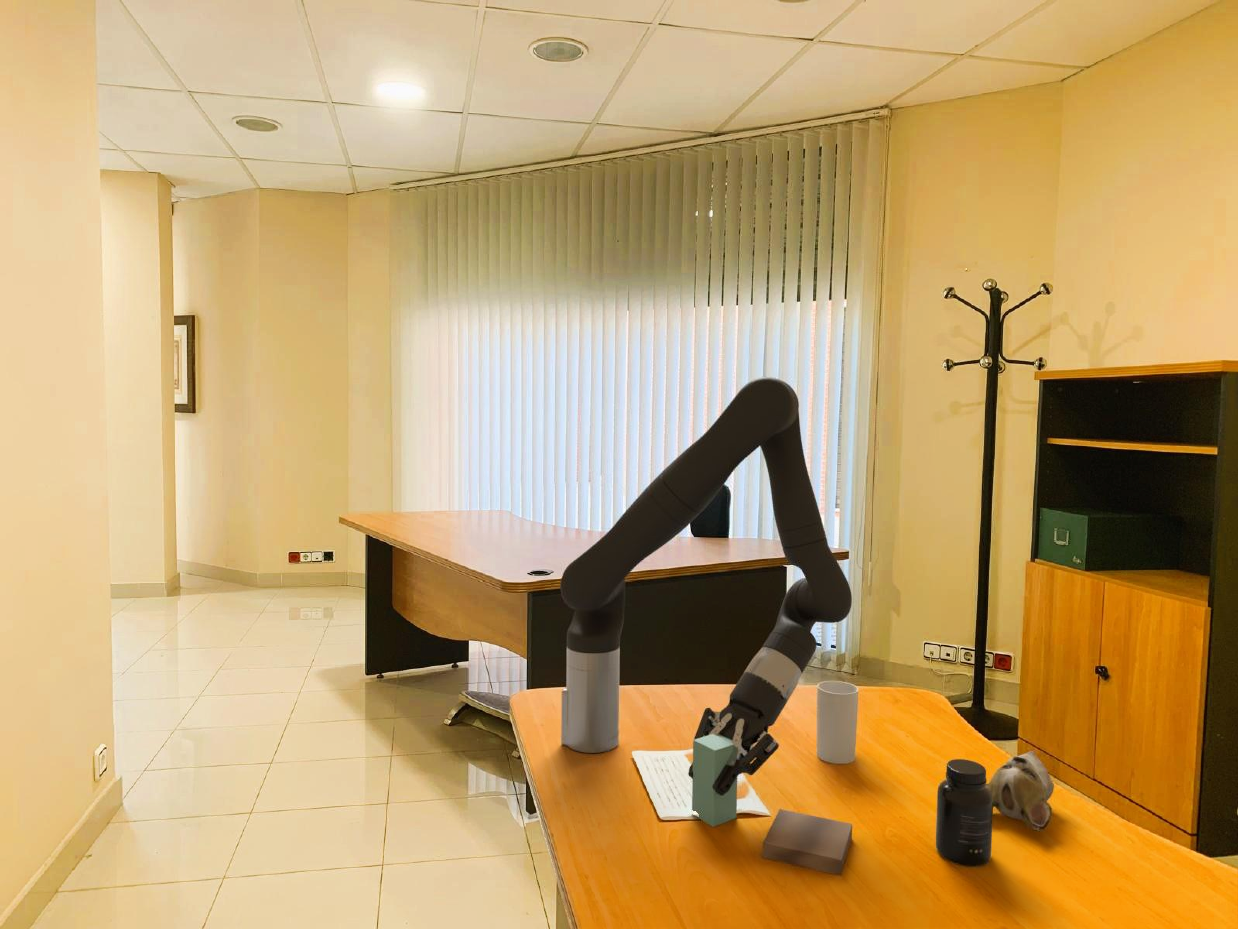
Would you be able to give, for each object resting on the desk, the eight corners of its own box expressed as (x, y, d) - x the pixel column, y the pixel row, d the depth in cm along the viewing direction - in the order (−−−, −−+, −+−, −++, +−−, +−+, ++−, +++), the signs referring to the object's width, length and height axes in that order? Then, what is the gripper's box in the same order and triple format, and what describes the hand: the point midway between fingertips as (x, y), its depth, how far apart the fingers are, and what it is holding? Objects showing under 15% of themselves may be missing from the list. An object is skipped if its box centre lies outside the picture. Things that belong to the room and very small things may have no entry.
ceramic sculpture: (1071, 750, 121) (1044, 790, 110) (1070, 805, 122) (1043, 851, 111) (995, 731, 128) (962, 768, 117) (994, 784, 129) (962, 825, 118)
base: (762, 857, 107) (762, 842, 107) (779, 822, 116) (779, 809, 116) (840, 875, 103) (841, 860, 103) (851, 838, 112) (852, 824, 112)
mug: (849, 768, 134) (851, 697, 134) (809, 759, 138) (811, 689, 137) (866, 747, 143) (868, 680, 142) (828, 739, 147) (830, 673, 146)
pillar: (691, 814, 119) (693, 740, 118) (714, 805, 121) (716, 733, 121) (713, 827, 115) (714, 750, 114) (736, 818, 118) (738, 743, 117)
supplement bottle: (926, 841, 112) (929, 755, 111) (974, 840, 112) (977, 754, 112) (950, 869, 105) (954, 778, 104) (1001, 867, 106) (1005, 777, 105)
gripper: (720, 659, 127) (658, 754, 121) (790, 685, 116) (726, 791, 109) (744, 686, 131) (685, 780, 124) (814, 714, 119) (754, 818, 113)
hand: (705, 785), depth 117 cm, fingers closed on pillar, 4 cm apart
